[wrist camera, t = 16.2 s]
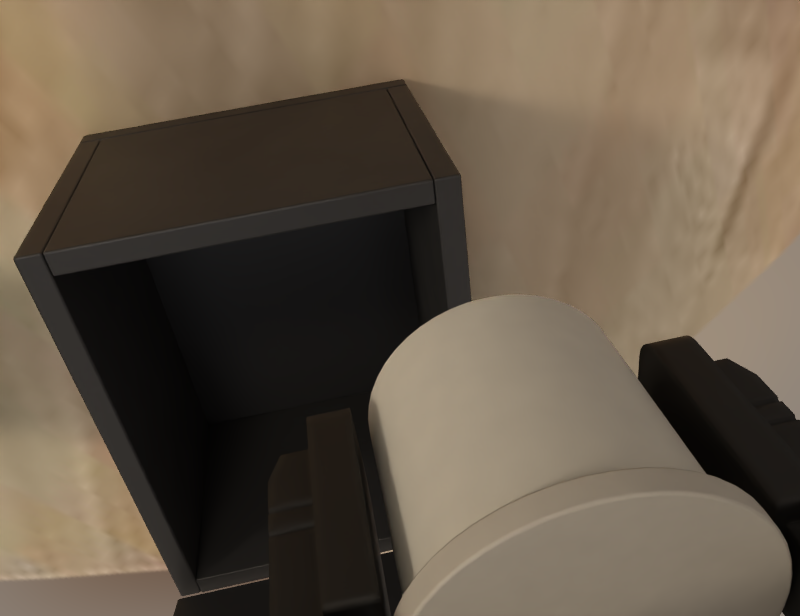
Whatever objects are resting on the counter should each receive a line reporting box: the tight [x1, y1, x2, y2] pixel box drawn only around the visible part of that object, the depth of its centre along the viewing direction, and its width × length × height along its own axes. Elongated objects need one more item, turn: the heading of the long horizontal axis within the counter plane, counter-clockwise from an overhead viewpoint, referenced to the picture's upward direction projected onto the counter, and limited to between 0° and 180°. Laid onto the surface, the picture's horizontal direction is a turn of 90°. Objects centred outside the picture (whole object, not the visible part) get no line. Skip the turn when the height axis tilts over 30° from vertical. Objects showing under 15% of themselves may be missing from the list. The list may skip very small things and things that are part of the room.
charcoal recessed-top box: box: [14, 79, 471, 596], centre depth 28 cm, size 16×13×10 cm
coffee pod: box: [368, 294, 793, 616], centre depth 11 cm, size 5×5×4 cm
